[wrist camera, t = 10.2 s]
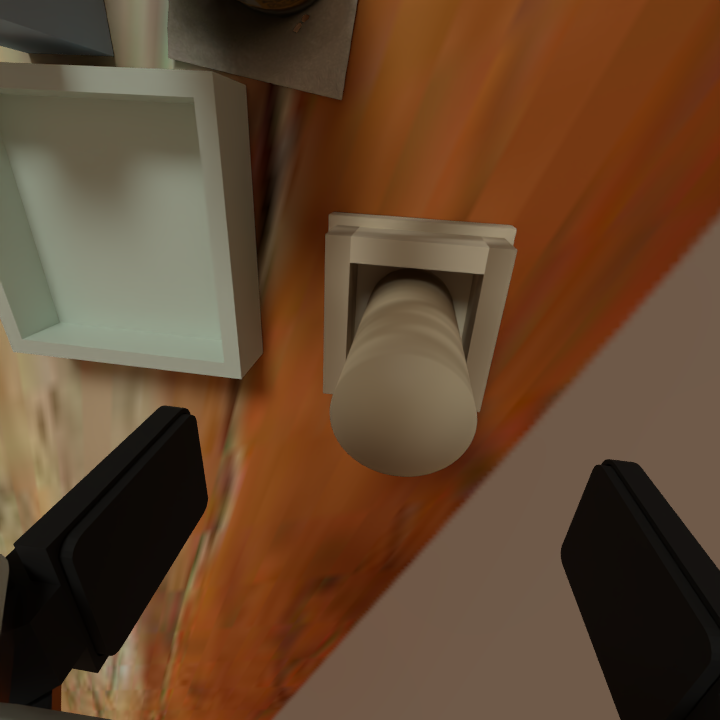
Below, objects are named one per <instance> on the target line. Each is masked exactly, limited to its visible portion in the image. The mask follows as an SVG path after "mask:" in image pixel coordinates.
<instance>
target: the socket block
mask: <svg viewBox="0 0 720 720" xmlns="http://www.w3.org/2000/svg"><path fill="white" fill-rule="evenodd" d="M516 230H517V229H516V228H515V227H513V226H512V225H500V224H486V223H473V222H460V221H447V220H434V219H420V218H407V217H394V216H381V215H368V214H355V213H341V212H332V213H331V214H329V229H328V233H326V234H325V294H324V367H323V393H327V394H334V391H335V388H336V386H337V383H338V380H339V378H340V375H341V372H342V370H343V367H344V364H345V362H346V359H347V356H348V354H349V351H350V349H351V346H352V343H353V341H354V338H355V335H356V333H357V330H358V327H359V325H360V322H361V319H362V317H363V314H364V311H365V309H366V306H367V303H368V301H369V298H370V295H371V293H372V291H373V289H374V287H375V286H376V285H377V283H378V282H379V281H380V280H381V279H382V278H383V277H385V276H386V275H388V274H390V273H391V272H394V271H396V270H399V269H404V268H417V269H423V270H426V271H428V272H431V273H433V274H434V275H436V276H437V277H438V278H440V279H441V280H442V281H443V282H444V283H445V285H446V286H447V288H448V289H449V291H450V293H451V296H452V300H453V305H454V309H455V314H456V318H457V323H458V328H459V332H460V337H461V341H462V346H463V351H464V355H465V360H466V364H467V369H468V374H469V378H470V383H471V387H472V392H473V397H474V401H475V406H476V411H477V412H480V408H481V404H482V400H483V395H484V391H485V387H486V383H487V378H488V374H489V370H490V365H491V361H492V357H493V352H494V348H495V344H496V339H497V335H498V331H499V327H500V322H501V318H502V314H503V309H504V305H505V301H506V296H507V292H508V288H509V284H510V279H511V275H512V271H513V266H514V262H515V258H516V253H517V249H516V248H515V247H514V246H513V243H514V239H515V234H516Z"/></svg>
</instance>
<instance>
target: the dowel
mask: <svg viewBox="0 0 720 720" xmlns="http://www.w3.org/2000/svg"><path fill="white" fill-rule="evenodd" d="M330 421H331V426H332V429H333V432H334V435H335V436H336V438H337V440H338V442H339V443H340V445H341V446H342V447H343V449H344V450H345V451H346V452H347V453H348V454H349V455H350V456H351V457H352V458H354V459H355V460H356V461H358V462H359V463H361V464H362V465H364V466H366V467H368V468H370V469H372V470H375V471H377V472H380V473H384V474H388V475H393V476H403V477H412V476H421V475H426V474H430V473H433V472H436V471H439V470H441V469H443V468H445V467H447V466H449V465H450V464H452V463H453V462H455V461H456V460H457V459H458V458H460V456H461V455H462V454H463V453H464V452H465V451H466V450H467V448H468V447H469V445H470V444H471V442H472V440H473V438H474V434H475V431H476V426H477V411H476V406H475V401H474V397H473V392H472V387H471V383H470V378H469V374H468V369H467V364H466V360H465V355H464V351H463V346H462V341H461V337H460V332H459V328H458V323H457V318H456V314H455V309H454V305H453V300H452V296H451V293H450V291H449V289H448V288H447V286H446V285H445V283H444V282H443V281H442V280H441V279H440V278H438V277H437V276H436V275H434V274H433V273H431V272H428V271H426V270H423V269H417V268H404V269H399V270H396V271H394V272H391V273H390V274H388V275H386V276H385V277H383V278H382V279H381V280H380V281H379V282H378V283H377V285H376V286H375V287H374V289H373V291H372V293H371V295H370V298H369V301H368V303H367V306H366V309H365V311H364V314H363V317H362V319H361V322H360V325H359V327H358V330H357V333H356V335H355V338H354V341H353V343H352V346H351V349H350V351H349V354H348V356H347V359H346V362H345V364H344V367H343V370H342V372H341V375H340V378H339V380H338V383H337V386H336V388H335V391H334V394H333V396H332V400H331V404H330Z"/></svg>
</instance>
